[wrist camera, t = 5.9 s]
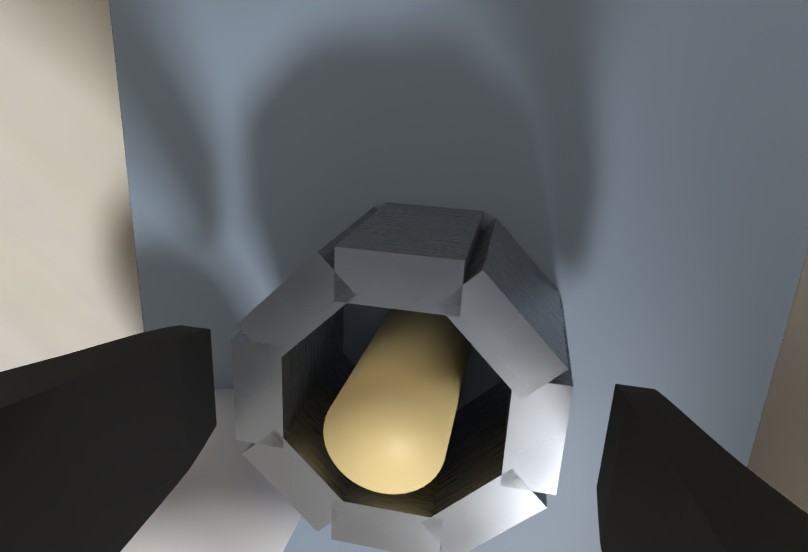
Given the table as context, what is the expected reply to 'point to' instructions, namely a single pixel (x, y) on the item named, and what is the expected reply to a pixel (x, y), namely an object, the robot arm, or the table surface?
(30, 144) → the table surface
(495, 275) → the ring
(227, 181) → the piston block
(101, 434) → the robot arm
